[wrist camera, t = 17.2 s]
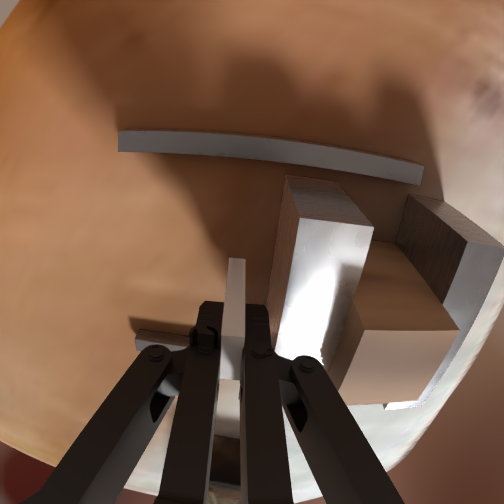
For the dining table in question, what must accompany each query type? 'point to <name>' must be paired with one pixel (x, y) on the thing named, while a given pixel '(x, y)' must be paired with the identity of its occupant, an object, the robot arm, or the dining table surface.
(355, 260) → the block
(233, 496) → the beverage carton
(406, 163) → the vise body
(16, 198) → the dining table surface
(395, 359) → the block
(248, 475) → the robot arm
